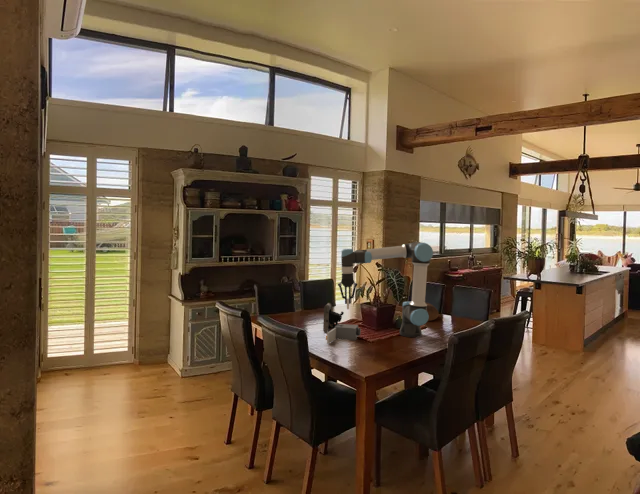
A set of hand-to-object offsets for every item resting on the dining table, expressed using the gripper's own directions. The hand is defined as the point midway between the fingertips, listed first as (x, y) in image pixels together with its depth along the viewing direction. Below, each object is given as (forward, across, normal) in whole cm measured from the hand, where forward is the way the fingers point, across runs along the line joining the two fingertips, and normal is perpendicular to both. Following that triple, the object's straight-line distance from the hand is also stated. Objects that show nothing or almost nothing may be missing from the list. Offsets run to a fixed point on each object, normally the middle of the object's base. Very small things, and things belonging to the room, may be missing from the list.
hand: (348, 308), depth 277 cm
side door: (+21, +11, +2) cm, 24 cm away
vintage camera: (+22, +9, -23) cm, 33 cm away
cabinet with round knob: (+21, +1, -8) cm, 23 cm away
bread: (+24, -60, -72) cm, 96 cm away
